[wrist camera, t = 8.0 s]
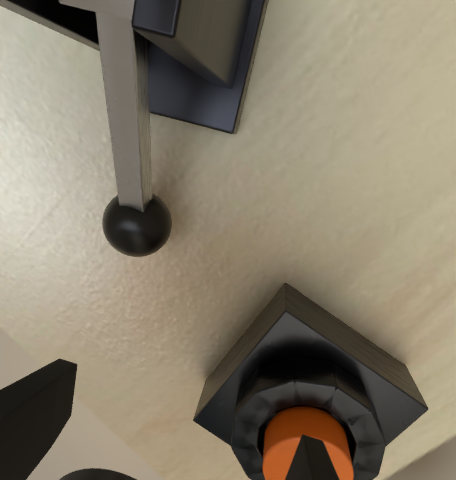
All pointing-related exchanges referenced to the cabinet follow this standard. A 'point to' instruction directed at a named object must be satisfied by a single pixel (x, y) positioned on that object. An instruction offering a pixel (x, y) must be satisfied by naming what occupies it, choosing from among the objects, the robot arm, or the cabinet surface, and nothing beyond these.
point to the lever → (128, 131)
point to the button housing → (308, 384)
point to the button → (289, 434)
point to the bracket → (178, 51)
